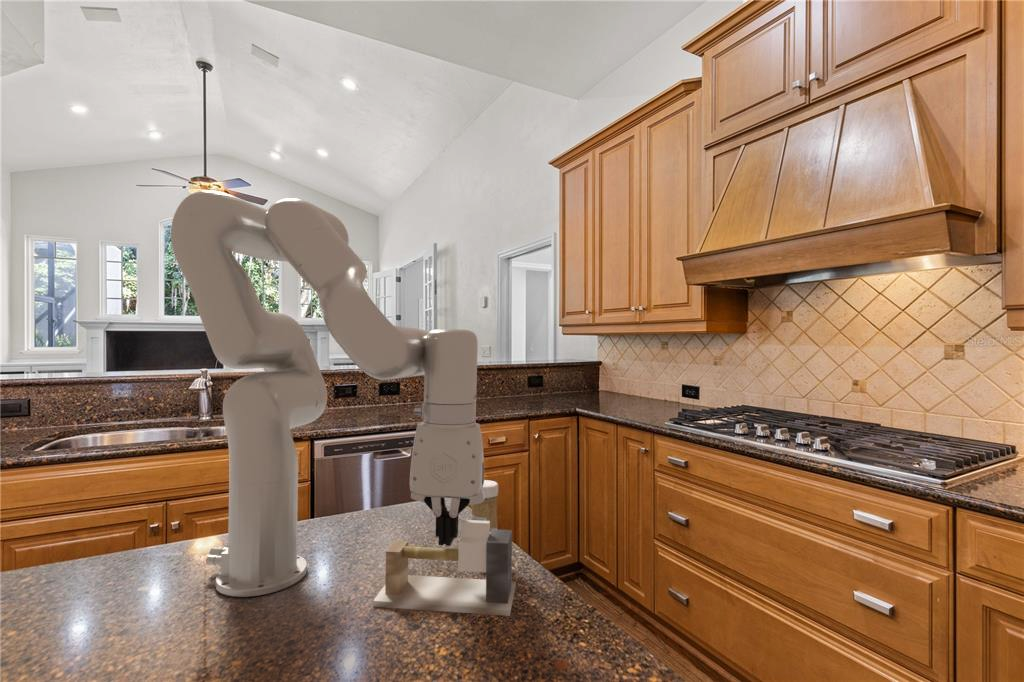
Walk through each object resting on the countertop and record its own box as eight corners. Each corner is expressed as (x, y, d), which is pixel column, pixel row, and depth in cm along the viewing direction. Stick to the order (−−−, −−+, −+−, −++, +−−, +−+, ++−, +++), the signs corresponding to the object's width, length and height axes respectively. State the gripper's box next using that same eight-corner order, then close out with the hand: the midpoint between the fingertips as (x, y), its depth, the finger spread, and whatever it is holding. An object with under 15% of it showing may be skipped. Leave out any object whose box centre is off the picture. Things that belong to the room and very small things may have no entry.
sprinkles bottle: (502, 566, 81) (503, 484, 81) (478, 573, 78) (479, 488, 78) (488, 556, 84) (489, 477, 85) (465, 562, 82) (465, 481, 82)
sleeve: (458, 570, 68) (458, 526, 68) (464, 558, 73) (464, 515, 73) (486, 572, 68) (487, 527, 68) (491, 559, 72) (491, 517, 72)
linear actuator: (372, 606, 68) (373, 541, 68) (393, 579, 76) (393, 520, 76) (509, 615, 66) (510, 548, 66) (515, 586, 74) (516, 526, 74)
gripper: (390, 416, 68) (387, 549, 68) (497, 420, 66) (494, 556, 66) (407, 409, 75) (404, 529, 75) (504, 413, 74) (501, 535, 74)
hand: (446, 541), depth 71 cm, fingers closed
